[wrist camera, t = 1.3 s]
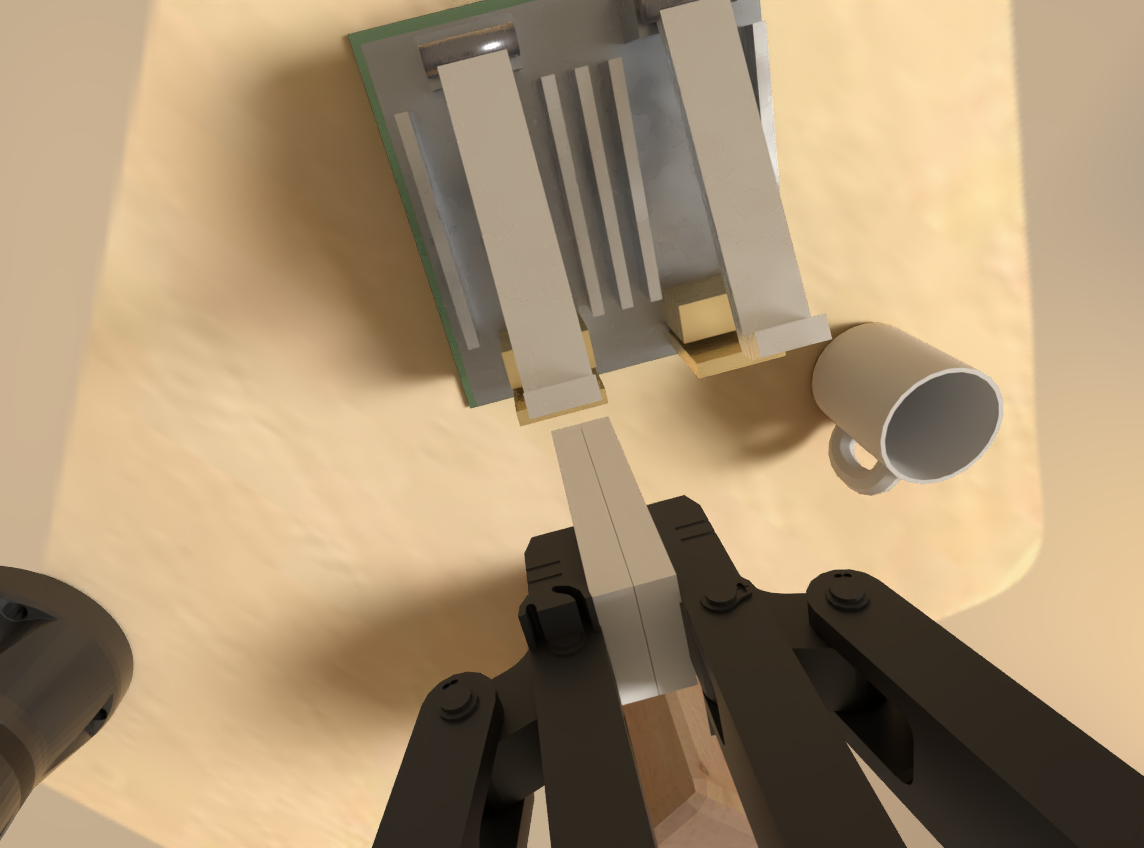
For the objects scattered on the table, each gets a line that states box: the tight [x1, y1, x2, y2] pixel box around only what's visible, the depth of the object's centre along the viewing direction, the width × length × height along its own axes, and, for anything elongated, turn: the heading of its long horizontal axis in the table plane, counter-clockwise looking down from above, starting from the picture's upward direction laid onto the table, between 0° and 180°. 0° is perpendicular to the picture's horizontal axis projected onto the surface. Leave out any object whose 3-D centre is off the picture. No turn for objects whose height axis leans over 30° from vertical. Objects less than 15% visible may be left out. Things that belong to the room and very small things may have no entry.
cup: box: [812, 323, 1003, 496], centre depth 42 cm, size 7×10×9 cm
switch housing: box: [348, 0, 786, 426], centre depth 34 cm, size 20×21×10 cm
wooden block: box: [622, 675, 758, 848], centre depth 43 cm, size 10×10×20 cm
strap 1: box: [418, 22, 602, 419], centre depth 26 cm, size 4×15×2 cm, turn 13°
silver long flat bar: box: [639, 0, 832, 361], centre depth 26 cm, size 4×15×2 cm, turn 13°
